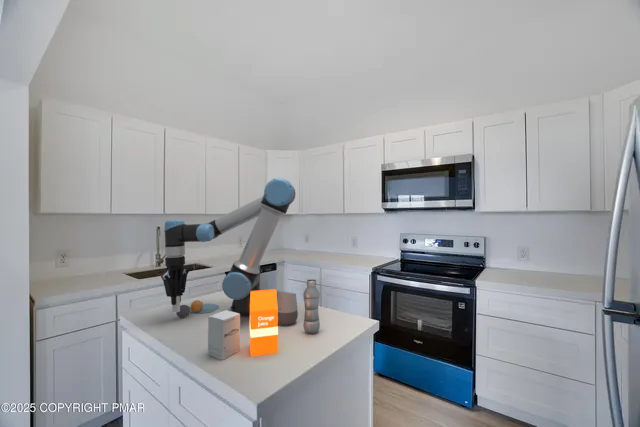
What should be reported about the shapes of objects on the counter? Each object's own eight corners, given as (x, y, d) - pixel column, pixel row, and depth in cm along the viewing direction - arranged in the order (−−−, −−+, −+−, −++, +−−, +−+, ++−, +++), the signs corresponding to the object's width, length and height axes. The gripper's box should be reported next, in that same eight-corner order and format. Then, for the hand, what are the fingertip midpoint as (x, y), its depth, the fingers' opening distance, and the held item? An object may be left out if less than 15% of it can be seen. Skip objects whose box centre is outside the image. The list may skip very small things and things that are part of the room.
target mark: (224, 304, 142) (224, 304, 142) (210, 314, 128) (210, 313, 128) (198, 303, 144) (198, 303, 144) (181, 313, 130) (181, 312, 130)
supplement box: (222, 360, 87) (222, 320, 87) (207, 354, 91) (207, 315, 91) (240, 351, 93) (240, 313, 93) (225, 345, 97) (225, 309, 97)
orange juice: (278, 352, 92) (278, 292, 92) (250, 356, 89) (250, 294, 90) (274, 342, 99) (275, 286, 100) (249, 345, 97) (249, 288, 97)
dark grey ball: (181, 313, 120) (187, 320, 123) (188, 302, 124) (194, 309, 127) (171, 312, 122) (177, 320, 125) (178, 301, 126) (184, 309, 129)
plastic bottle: (322, 329, 111) (322, 279, 111) (316, 336, 104) (316, 282, 105) (307, 327, 113) (307, 278, 113) (300, 334, 106) (300, 281, 107)
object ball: (201, 315, 131) (206, 303, 135) (196, 310, 127) (202, 299, 130) (190, 313, 132) (196, 302, 136) (186, 308, 128) (191, 297, 131)
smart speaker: (301, 321, 120) (301, 288, 120) (289, 328, 112) (289, 293, 112) (284, 317, 124) (284, 285, 125) (270, 324, 116) (270, 290, 116)
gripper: (179, 254, 127) (181, 306, 126) (155, 258, 114) (156, 316, 114) (193, 254, 124) (194, 307, 124) (169, 258, 112) (171, 317, 112)
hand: (176, 311), depth 119 cm, fingers closed
